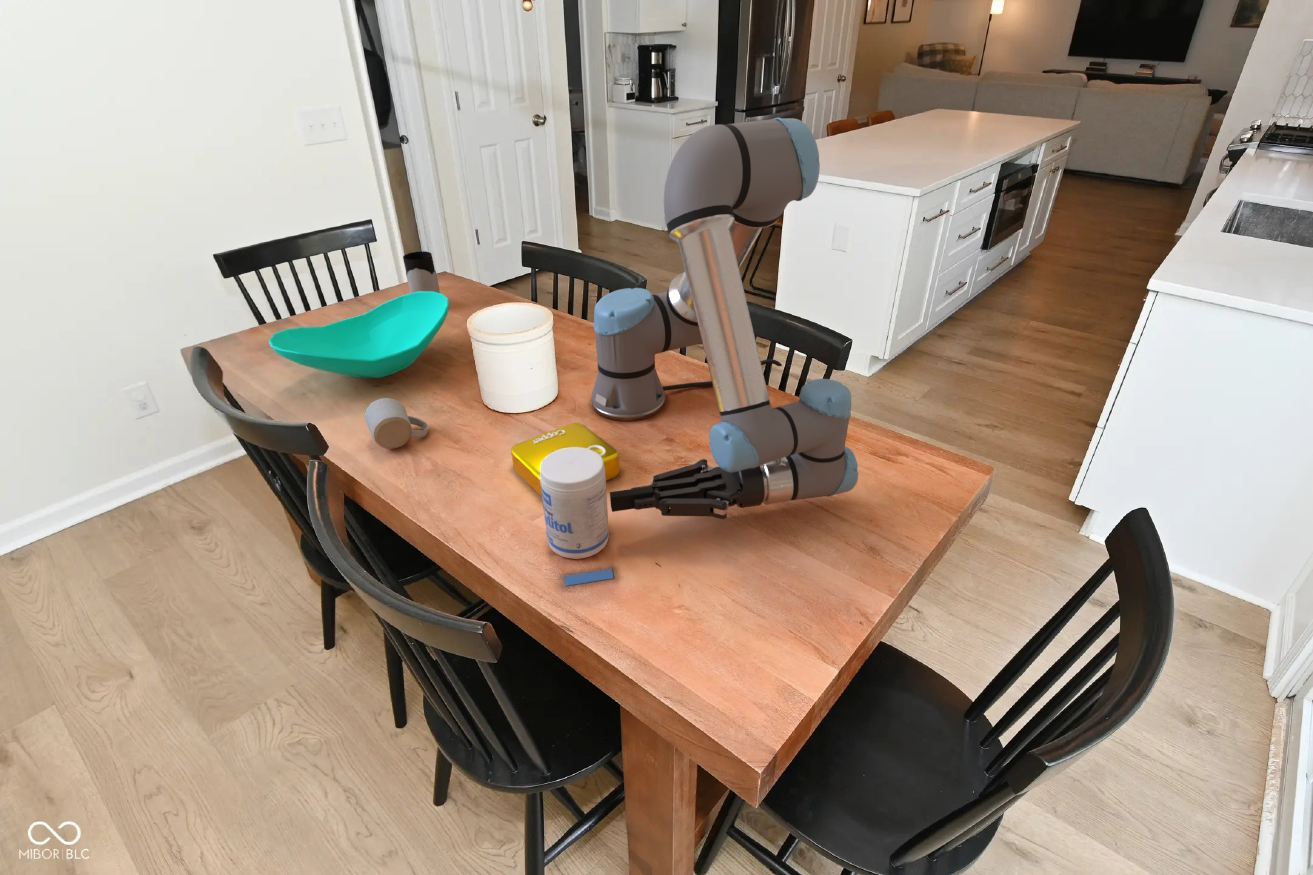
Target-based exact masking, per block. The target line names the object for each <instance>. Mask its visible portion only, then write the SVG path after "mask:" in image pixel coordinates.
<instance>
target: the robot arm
mask: <svg viewBox="0 0 1313 875" xmlns="http://www.w3.org/2000/svg"><path fill="white" fill-rule="evenodd" d="M820 169H821V163H820V153H819V148H818V144H817V141H816V138H815V136H814V134H813V132H812V131H811V129H810V127H809V126H808V125H807V124H806V123H805V122H804V121H802V120H800V119H799V118H789V117H788V118H782V117H780V116H779V117H774V118H770V119H761V120H752V121H744V122H736V123H735V122H734V123H727V124H712V125H708V126H705V127H702V128H700V129H698V130H696V131H695V132H693V133H692V134H691V135H689V136H688V137H687V138H686V139H685V140H684V141H683V143H682V144H681V145H680V147H678V150H677V151H676V152H675V154H674V156H673V158H672V161H671V162H670V165H669V169H668V172H667V174H666V179H665V184H664V191H663V214H664V220H665V225H666V229H667V234H668V237H669V239H671V240H672V241H674V242H675V243H677V244H678V249H679V253H680V256H681V262H682V265H683V269H684V272H681V273H679V274H677V275H676V276H675V277H674V278H673V279H672V280H671V282H670V284H669V286H668V288H667V290H666V291H664V292H658V293H654V294H653V293H652V292H651V291H649V290H648V289H646V288H642V287H634V288H630V287H627V288H626V287H625V288H621V289H617V290H614V291H612V292H609V293H607V294H606V295H604V296H602V297H601V298H600V299H599V300H598V302H597V303H596V304H595V306H594V309H593V318H594V320H593V330H594V337H595V349H596V362H597V374H596V378H595V382H594V385H593V389H592V393H591V407H592V410H593V411H594V412H595V413H596V414H597V415H599V416H600V417H602V418H605V419H609V420H613V421H618V422H620V421H621V422H633V421H639V420H643V419H647V418H650V417H652V416H654V415H656V414H657V413H659V412H660V411H661V410H662V409H663V408H664V406H665V402H666V399H665V398H666V395H665V392H666V391H667V392H668V391H673V390H681V389H689V388H701V387H703V388H704V387H712V388H713V391H714V395H715V399H716V404H717V407H718V412H719V417H720V422H718V423H716V424H714V425H712V427H711V428H710V430H709V433H708V439H709V442H708V446H709V449H710V453H711V455H712V458H713V460H714V462H715V463H716V465H717V466H715V467H713V466H710V465H709V464H708V459H705V458H702V459H699V460H698V461H696V462H695V463H692V464H689V465H686V466H682V467H678V468H675V469H672V470H669V471H668V470H667V471H665V472H662V473H658V474H655V475H653V477H652V482H651V484H649V485H641V486H633V487H631V488H630V489H622V490H614V491H609V499H610V501H609V502H610V508H611V513H615V512H621V511H628V510H636V511H640V510H645V509H646V510H647V509H652V508H654V509H656V510H659V511H660V514H661V515H662V516H664V517H712V518H716V519H720V520H725V519H727V514H728V510H729V507H734V506H737V507H738V508H741V509H745V508H751V507H758V506H761V505H762V504H763V505H766V506H768V505H774V504H780V503H786V502H790V501H791V502H792V501H799V500H806V499H812V498H813V499H815V498H821V497H822V498H823V497H832V496H835V495H840V494H844V493H847V492H850V491H852V490H853V489H854V488H855V487H856V486H857V483H858V480H859V471H858V468H859V464H858V461H857V458H856V456H855V454H854V452H853V451H852V449H851V448H849V447H848V446H846V442H847V435H848V429H849V423H850V418H851V416H852V413H851V412H852V392H851V390H850V388H849V387H848V386H846V385H845V384H843V383H842V382H841V381H837V380H834V379H829V378H815V379H812V380H808V381H807V382H806V383H805V384H803V385H802V387H801V389H800V394H799V395H798V400H797V401H794V402H791V403H787V404H783V405H779V406H775V407H772V404H771V401H770V400H771V399H770V397H769V396H770V395H769V392H768V388H767V384H766V379H765V376H764V371H763V366H765V365H770V364H771V365H775V366H776V367H782V366H783V364H782V363H781V362H780V361H778V360H777V359H773V358H768V359H763V360H761V358H760V353H759V350H758V345H757V340H756V336H755V332H754V327H753V324H752V319H751V314H750V311H749V306H748V303H747V302H748V301H747V298H746V293H745V289H744V285H743V281H742V277H741V272H740V268H741V266H742V264H743V262H744V261H745V259H746V258H747V256H748V254H749V252H750V251H751V249H752V247H753V245H754V244H755V242H756V240H757V238H758V236H759V235H760V233H761V231H762V230H763V229H766V228H768V227H771V226H773V225H775V224H776V223H777V222H778V221H779V219H780V217H781V216H782V214H783V213H784V211H785V210H786V208H787V207H788V204H789V203H791V202H794V201H795V202H801V201H803V200H804V199H807V198H809V197H810V196H811V195H812V194H813V193H814V191H815V190H816V187H817V184H818V182H819V178H820V172H821V171H820ZM696 345H702V346H703V347H702V348H703V350H704V354H705V358H706V362H707V367H708V370H709V374H710V379H711V380H710V381H709V380H708V381H698V382H687V383H677V384H670V385H663V384H662V382H661V380H660V377H659V374H658V371H657V369H656V355H658V354H661V353H666V352H670V351H675V350H679V349H683V348H687V347H692V346H696Z"/></svg>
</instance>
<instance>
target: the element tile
mask: <svg viewBox="0 0 1313 875" xmlns="http://www.w3.org/2000/svg"><path fill="white" fill-rule="evenodd" d="M569 447H581V448H587V449H590V450H593V451H595V452H597V453H598V454H599V455H600V456H601V457H602V459H603V462H604V467H605V477H606V482H607V481H610V480H611V479H614V478H616V477H617V476H618V475H619V474H620V460H619V459H620V456H619V452H618V450H617V449H616V448H615V447H613V446H612V445H611V444H609V443H608V442H607V441H606V440H604V439H603V438H602V437H600V436H599V435H598V434H596V433H595V432H594V431H593V430H591V429H590V428H588V426H586V425H584V424H583V423H580V422H573V423H569V424H566V425H564V426H561V427H558V428H555V429H553V430H551V431H548V432H545V433H543V434H540V435H537V436H535V437H531V438H529V439H527V440H524V441H522V442H519V443H516V444H514V445H513V446H512V447H511V449H510V453H511V458H512V464H513V469H514V471H515V472H516V473H517V474H518V476H520V477H521V479H522V480H524V481H525V482H526V483H527V484H528V485H529V486H530V487H531V488H532V489H533V490H534V491H535V492H536V493H537V494H538V495H539V496H540V497H541V498H542V492H541V483H540V465H541V462H542V461H543V459H544V458H545V457H546V456H547V455H549V454H550V453H552V452H554V451H557V450H560V449H563V448H569Z"/></svg>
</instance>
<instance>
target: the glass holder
mask: <svg viewBox="0 0 1313 875" xmlns="http://www.w3.org/2000/svg"><path fill="white" fill-rule="evenodd" d="M402 260H403V264H404V269H405V275H406V280H407V285H408V290H409V294H410V293H414V292H418V291H433V292H436V293H440V294H441V291H440V285H439V279H438V275H437V270H436V268H435V264H434V258H433V254H432V252H429V251H427V250H424V251H423V250H421V251H412V252H408V253H406V254H404V255H403V256H402Z"/></svg>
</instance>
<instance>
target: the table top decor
mask: <svg viewBox="0 0 1313 875" xmlns="http://www.w3.org/2000/svg"><path fill="white" fill-rule="evenodd" d="M449 308H450V299H449V298H448V297H447V296H446V295H445V294H443V293H441V292H440V293H436V292H433V291H418V292H414V293H410V292H409V293H406V294H403V295H400V296H397V297H395V298H392V299H390V300H387V301H385V302H383V303H381V304H380V305H378V306H376V307H374V308H372V309H370V310H368V311H367V312H365V313H363V314H360V315H355V316H353V317H349V318H344V319H341V320H337V321H335V322H332V323H329V324H326V325H323V326H299V327H293V328H287V329H282V330H280V331H277V332H275V333H273V334H272V335H271V337H270V338H269V339H268V343H269V345H270V348H272V350H273V351H274V352H275V353H276V355H278V356H280V357H283V358H285V359H286V360H289V361H291V362H293V363H296V364H298V365H301V366H303V367H304V366H305V367H308V368H312V369H314V370H320V371H324V372H329V373H333V374H338V375H342V376H348V377H352V378H358V379H363V380H364V379H366V380H369V379H370V380H371V379H382V378H384V377H387V376H391V375H393V374H396V373H398V372H401V371H403V370H404V369H406V368H409V367H410V366H411V365H412V364H413V363H414V362H415V361H416V360H418V358H419V357H420V355H422V353H423V352H424V351H425V350H426V349H427V348H428V346H429V345H430V344H431V342H432V341H433V340H434V338H435V337H436V335H437V333H438V332H439V331H440V329H441V327H442V326H443V325H444V322H445V321H446V318H447V316H448V313H449Z"/></svg>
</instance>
